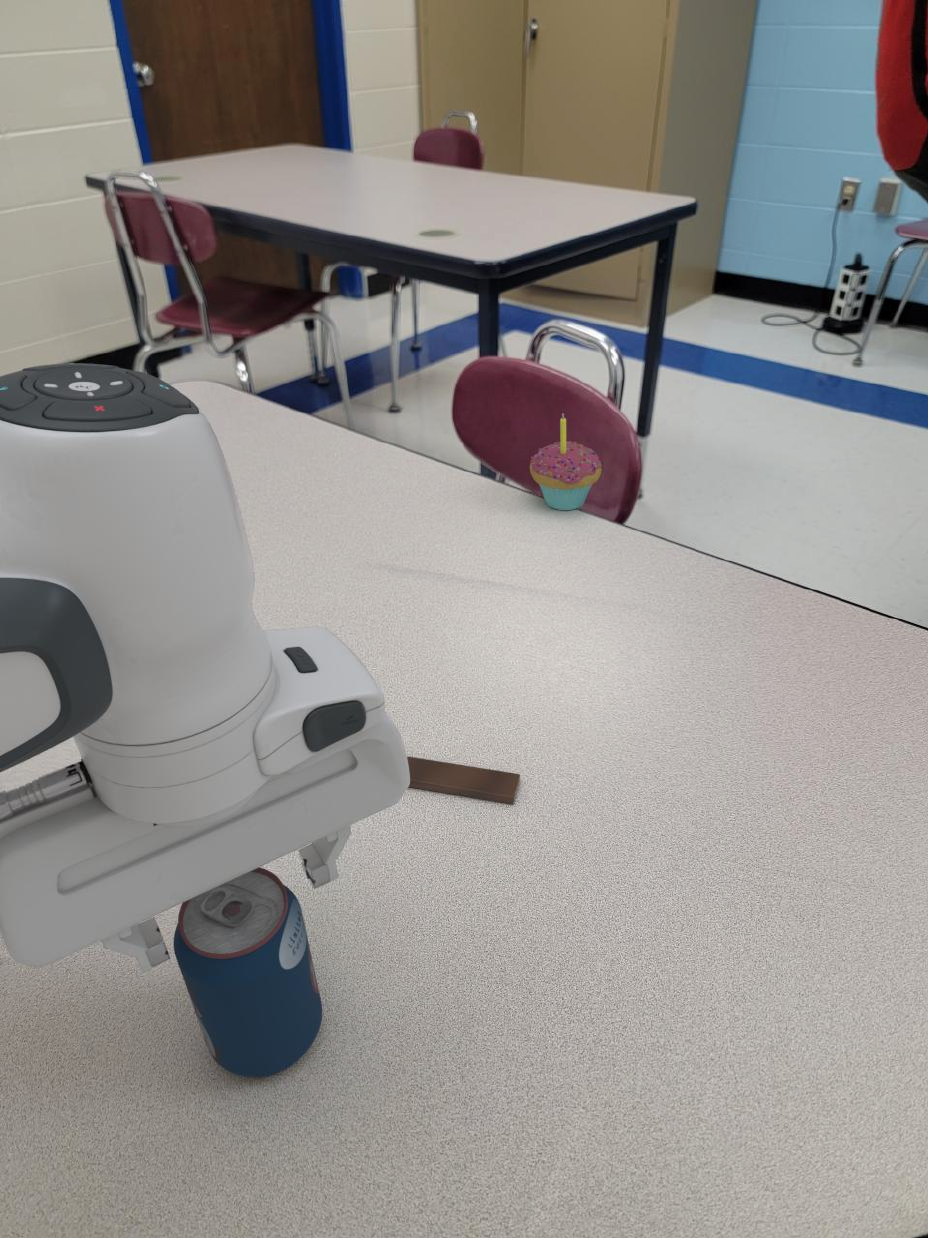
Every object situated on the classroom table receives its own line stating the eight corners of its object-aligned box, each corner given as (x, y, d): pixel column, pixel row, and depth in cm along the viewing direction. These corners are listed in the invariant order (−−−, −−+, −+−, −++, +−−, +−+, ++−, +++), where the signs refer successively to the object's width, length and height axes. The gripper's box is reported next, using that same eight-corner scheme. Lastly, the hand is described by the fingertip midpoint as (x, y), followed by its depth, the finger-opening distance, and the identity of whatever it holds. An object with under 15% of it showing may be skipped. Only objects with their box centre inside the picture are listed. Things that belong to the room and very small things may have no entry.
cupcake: (590, 522, 105) (596, 425, 98) (520, 512, 107) (521, 417, 100) (605, 489, 111) (612, 396, 104) (538, 480, 113) (540, 388, 106)
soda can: (347, 1008, 56) (324, 884, 49) (277, 1110, 51) (241, 988, 44) (258, 963, 59) (225, 839, 52) (185, 1055, 54) (137, 932, 47)
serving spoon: (96, 785, 72) (94, 778, 72) (176, 683, 83) (174, 676, 82) (499, 857, 65) (499, 850, 65) (532, 736, 75) (532, 729, 75)
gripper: (-61, 875, 34) (51, 1065, 42) (414, 682, 42) (431, 872, 50) (-77, 773, 39) (27, 963, 47) (356, 616, 47) (381, 801, 55)
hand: (240, 914), depth 49 cm, fingers open, 8 cm apart
